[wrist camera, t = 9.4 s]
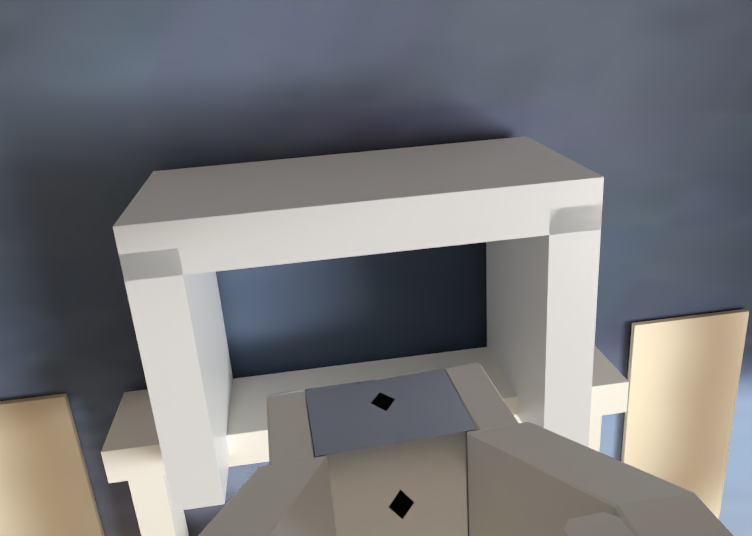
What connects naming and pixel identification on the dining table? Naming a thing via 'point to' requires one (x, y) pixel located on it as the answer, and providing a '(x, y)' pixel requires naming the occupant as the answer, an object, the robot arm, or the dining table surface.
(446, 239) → the white low frame
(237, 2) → the dining table surface
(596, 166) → the dining table surface
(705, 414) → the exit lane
